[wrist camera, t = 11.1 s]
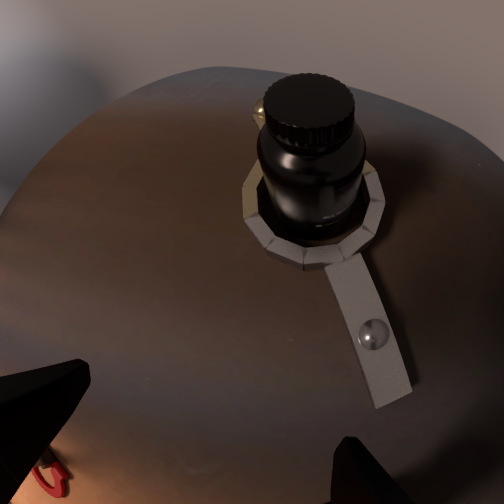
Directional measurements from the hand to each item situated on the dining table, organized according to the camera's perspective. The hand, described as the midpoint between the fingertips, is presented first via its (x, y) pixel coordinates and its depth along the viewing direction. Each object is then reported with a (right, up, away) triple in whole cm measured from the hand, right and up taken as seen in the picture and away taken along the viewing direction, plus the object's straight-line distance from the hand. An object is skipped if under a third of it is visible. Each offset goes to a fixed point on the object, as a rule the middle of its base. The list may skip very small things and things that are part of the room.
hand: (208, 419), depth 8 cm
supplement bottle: (+7, +9, +16) cm, 20 cm away
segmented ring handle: (+9, +2, +13) cm, 16 cm away
